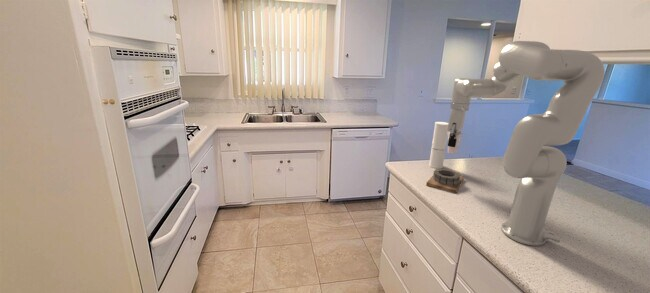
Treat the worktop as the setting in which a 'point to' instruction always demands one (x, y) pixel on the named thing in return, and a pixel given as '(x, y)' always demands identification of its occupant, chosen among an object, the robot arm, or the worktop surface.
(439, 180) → the block
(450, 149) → the smoothie
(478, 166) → the worktop surface
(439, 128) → the cylindrical container
